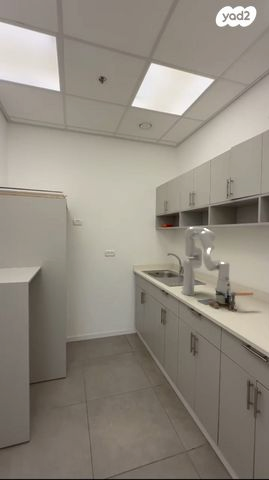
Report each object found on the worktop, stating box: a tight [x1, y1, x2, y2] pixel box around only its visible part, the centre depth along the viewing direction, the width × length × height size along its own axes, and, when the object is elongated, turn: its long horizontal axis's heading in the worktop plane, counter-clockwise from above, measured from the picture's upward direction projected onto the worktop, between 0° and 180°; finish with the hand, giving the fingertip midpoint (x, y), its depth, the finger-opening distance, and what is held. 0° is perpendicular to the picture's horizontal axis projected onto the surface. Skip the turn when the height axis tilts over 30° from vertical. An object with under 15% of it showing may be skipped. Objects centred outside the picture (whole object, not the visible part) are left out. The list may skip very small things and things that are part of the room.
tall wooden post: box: [231, 291, 254, 297], centre depth 164 cm, size 16×3×2 cm, turn 100°
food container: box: [215, 291, 232, 308], centre depth 173 cm, size 12×6×10 cm, turn 81°
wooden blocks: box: [207, 296, 238, 312], centre depth 169 cm, size 16×19×10 cm
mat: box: [196, 298, 216, 306], centre depth 181 cm, size 10×15×1 cm, turn 113°
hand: (222, 301), depth 172 cm, fingers closed on food container, 7 cm apart
